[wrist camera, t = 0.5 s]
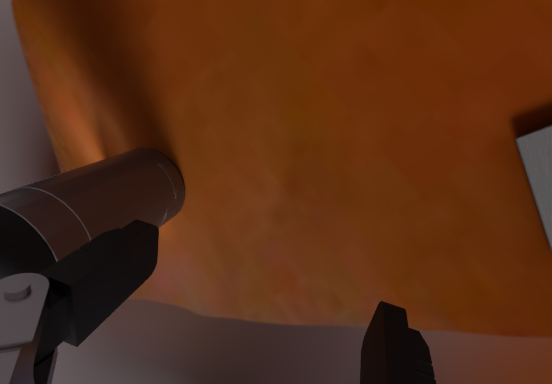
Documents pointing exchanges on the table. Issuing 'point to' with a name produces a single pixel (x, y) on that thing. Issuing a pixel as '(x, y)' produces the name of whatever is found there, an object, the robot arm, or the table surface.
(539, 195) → the electrical outlet
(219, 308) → the table surface
